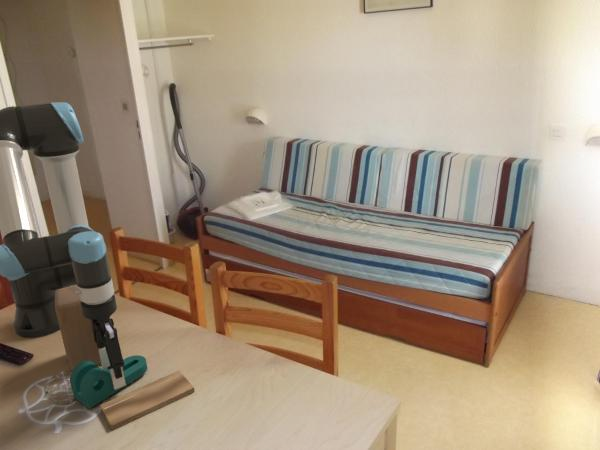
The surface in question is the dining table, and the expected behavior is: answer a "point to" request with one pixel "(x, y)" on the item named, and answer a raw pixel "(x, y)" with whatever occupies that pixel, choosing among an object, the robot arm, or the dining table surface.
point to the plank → (146, 399)
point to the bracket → (102, 379)
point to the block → (75, 328)
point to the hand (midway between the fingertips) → (114, 377)
